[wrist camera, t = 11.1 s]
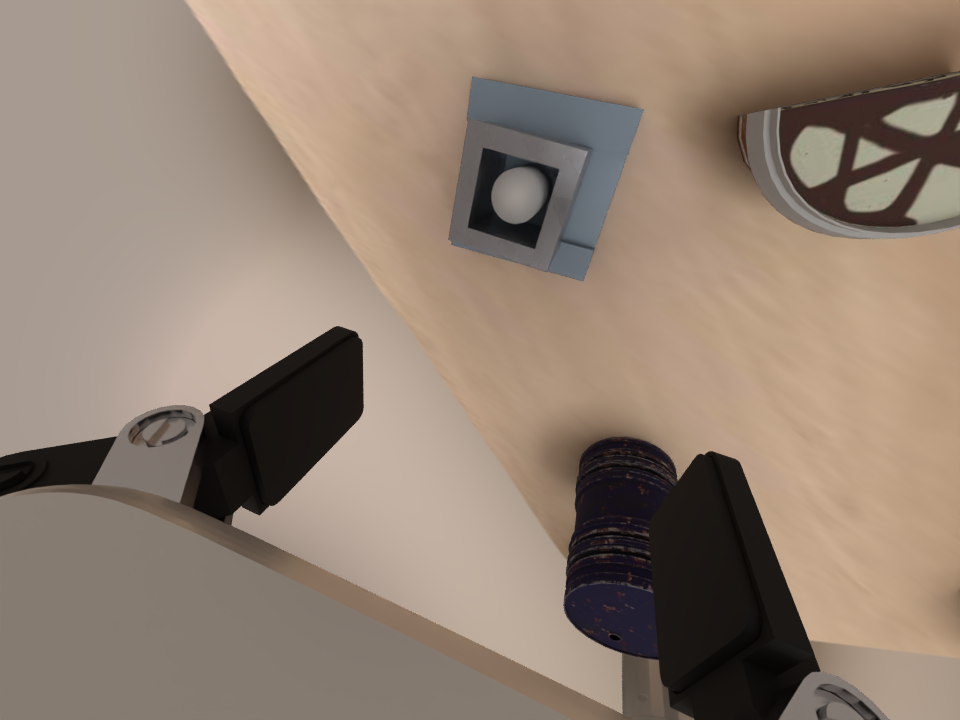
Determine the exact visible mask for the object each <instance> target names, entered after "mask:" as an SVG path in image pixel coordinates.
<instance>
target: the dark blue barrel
mask: <svg viewBox="0 0 960 720" xmlns="http://www.w3.org/2000/svg"><path fill="white" fill-rule="evenodd" d="M677 482H678V480H677V474H676V468H675V466H674V463H673V462H672V460H671V459H670V457H669V456H668V455H667V454H666V453H665V452H664V451H662V450H661V449H660V448H658V447H656V446H655V445H653V444H650V443H648V442H646V441H642V440H639V439H634V438H626V437H617V438H609V439H605V440H601V441H599V442H597V443H594V444H593V445H591V446H590V447H589V448H588V449H587V450H586V451H585V452H584V453H583V455H582V457H581V459H580V465H579V475H578V477H577V482H576V499H575V509H576V523H575V532H574V533H573V535H572V537H571V541H570V544H569V555H568V560H567V568H566V576H567V579H566V590H565V596H564V605H563V606H564V611H565V614H566V616H567V618H568V619H569V621H570V622H571V623H572V624H573V625H574V626H575V627H576V628H577V629H578V630H579V631H580V632H581V633H583V634H584V635H585V636H587V637H588V638H590V639H592V640H593V641H595V642H597V643H599V644H601V645H603V646H605V647H607V648H609V649H612V650H614V651H617V652H620V653H623V654H626V655H630V656H634V657H639V658H644V659H652V660H659V657H658V645H657V632H656V619H655V607H654V594H653V581H652V569H651V556H650V543H649V524H650V521H651V518H652V517H653V515H654V514H655V512H656V511H657V510H658V508H659V507H660V505H661V504H662V503H663V501H664V500H665V499H666V497H667V496H668V494H669V493H670V492H671V490H672V489H673V488H674V486H675V485H676V483H677Z"/></svg>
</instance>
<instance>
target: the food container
mask: <svg viewBox="0 0 960 720" xmlns="http://www.w3.org/2000/svg"><path fill="white" fill-rule="evenodd" d="M737 139H738V143H739V146H740V150H741V154H742V157H743V161H744V162H745V163H746V165H747V166H748V167H749V168H750V170H751V171H752V173H753V177H754V180H755V181H756V183H757V185H758V187H759V189H760V190H761V192H762V194H763V196H764V197H765V198H766V199H767V200H768V202H769V203H770V204H771V205H772V206H773V207H774V208H775V209H776V210H777V211H778V212H779V213H781V214H782V215H783V216H785V217H786V218H787V219H789V220H790V221H792V222H793V223H795V224H798V225H800V226H802V227H804V228H806V229H808V230H811V231H814V232H818V233H821V234H825V235H829V236H833V237H843V238H853V239H895V238H909V237H916V236H923V235H930V234H936V233H940V232H944V231H948V230H952V229H956V228H960V71H957V72H952V73H947V74H942V75H937V76H932V77H927V78H922V79H917V80H913V81H908V82H903V83H898V84H893V85H888V86H883V87H878V88H873V89H868V90H863V91H858V92H853V93H848V94H843V95H838V96H833V97H828V98H824V99H819V100H814V101H809V102H804V103H799V104H794V105H789V106H784V107H779V108H774V109H769V110H764V111H759V112H754V113H749V114H744V115H739V116H738V125H737Z"/></svg>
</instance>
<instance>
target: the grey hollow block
mask: <svg viewBox="0 0 960 720" xmlns="http://www.w3.org/2000/svg"><path fill="white" fill-rule="evenodd" d="M593 150H594V149H592V148H588V147H584V146H581V145H577V144H573V143H570V142H566V141H562V140H559V139H555V138H552V137H548V136H544V135H541V134H537V133H533V132H530V131H526V130H522V129H519V128H515V127H511V126H508V125H504V124H500V123H495V122H489V121H482V120H475V119H468V124H467V130H466V136H465V143H464V149H463V155H462V161H461V167H460V173H459V179H458V185H457V191H456V197H455V203H454V209H453V215H452V221H451V227H450V233H449V239H448V240H451V241H454V242H457V243H460V244H463V245H466V246H469V247H472V248H475V249H478V250H481V251H484V252H487V253H490V254H493V255H496V256H499V257H502V258H505V259H508V260H511V261H514V262H517V263H520V264H523V265H526V266H530V267H533V268H536V269H539V270H542V271H545V272H547V270H548V268H549V267H550V265H551V263H552V261H553V259H554V257H555V255H556V253H557V251H558V250H559V247H560V245H561V242H562V239H563V236H564V233H565V230H566V227H567V224H568V222H569V219H570V216H571V213H572V210H573V207H574V204H575V201H576V199H577V196H578V193H579V190H580V187H581V184H582V181H583V178H584V176H585V173H586V170H587V167H588V164H589V161H590V158H591V156H592V153H593ZM507 154H509V155H512V156H516V157H519V158H523V159H526V160H530V161H533V162H537V163H540V164H544V165H547V166H550V167H554V168H557V169H560V170H559V173H558V176H557V180H556V183H555V186H554V189H553V193H552V196H551V199H550V202H549V205H548V209H547V212H546V215H545V218H544V222H543V225H542V227H541V226H538V225H535V224H531V223H528V222H523V223H520V224H512V223H508V222H506V221H504V220H503V219H501V218H500V217H499V216H498V215H497V213H496V212H494V211H495V210H494V208H493V205H492V199H491V195H492V189H493V186H494V183H495V181H496V180H497V178H498V177H499V176H500V175H501V174H502V173H503V172H504V167H505V163H506V159H507Z"/></svg>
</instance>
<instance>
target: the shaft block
mask: <svg viewBox="0 0 960 720" xmlns="http://www.w3.org/2000/svg"><path fill="white" fill-rule="evenodd" d="M643 111H644V109H639V108H633V107H628V106H623V105H618V104H612V103H607V102H602V101H597V100H592V99H586V98H581V97H576V96H571V95H565V94H560V93H555V92H550V91H545V90H539V89H534V88H529V87H524V86H518V85H513V84H508V83H503V82H497V81H492V80H487V79H482V78H477V77H472V83H471V91H470V99H469V107H468V115H467V121H468V119H475V120H482V121H489V122H495V123H500V124H504V125H508V126H511V127H515V128H519V129H522V130H526V131H530V132H533V133H537V134H541V135H544V136H548V137H552V138H555V139H559V140H562V141H566V142H570V143H573V144H577V145H581V146H584V147H588V148H592V149H594V150H593V153H592V156H591V158H590V161H589V164H588V167H587V170H586V173H585V176H584V178H583V181H582V184H581V187H580V190H579V193H578V196H577V199H576V201H575V204H574V207H573V210H572V213H571V216H570V219H569V222H568V224H567V227H566V230H565V233H564V236H563V239H562V242H561V245H560V247H559V250H558V251H557V253H556V255H555V257H554V259H553V261H552V263H551V265H550V267H549V268H548V270H547V271H548V272H551V273H555V274H559V275H562V276H566V277H569V278H573V279H577V280H580V281H584V278H585V275H586V272H587V269H588V266H589V264H590V261H591V258H592V255H593V252H594V249H595V245H596V243H597V240H598V237H599V234H600V231H601V228H602V226H603V223H604V220H605V217H606V214H607V211H608V209H609V206H610V203H611V200H612V197H613V194H614V192H615V189H616V186H617V183H618V180H619V177H620V175H621V172H622V169H623V166H624V163H625V160H626V158H627V155H628V153H629V150H630V147H631V145H632V142H633V139H634V136H635V133H636V130H637V128H638V125H639V122H640V119H641V116H642V113H643ZM559 170H560V169H557V168H554V167H550V166H547V165H544V164H540V163H537V162H533V161H530V160H526V159H523V158H519V157H516V156H512V155H509V154H507V159H506V163H505V167H504V172H503V173H502V174H501V175H500V176H499V177H498V178H497V180H496V181H495V183H494V186H493V189H492V195H491V199H492V205H493V208H494V210H495V211H494V212H496V213H497V215H498V216H499V217H500V218H501V219H503V220H504V221H506V222H508V223H512V224H520V223H523V222H528V223H531V224H535V225H538V226H541V227H542V225H543V222H544V218H545V215H546V212H547V209H548V205H549V202H550V199H551V196H552V193H553V189H554V186H555V183H556V180H557V176H558V173H559ZM451 245H454V246H458V247H461V248H465V249H469V250H472V251H476V252H479V253H483V254H487V255H490V256H494V257H497V258H501V259H505V258H502V257H499V256H496V255H493V254H490V253H487V252H484V251H481V250H478V249H475V248H472V247H469V246H466V245H463V244H460V243H457V242H454V241H452V243H451ZM505 260H508V259H505ZM508 261H511V260H508ZM512 262H514V261H512ZM515 263H517V262H515ZM519 264H520V263H519Z"/></svg>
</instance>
